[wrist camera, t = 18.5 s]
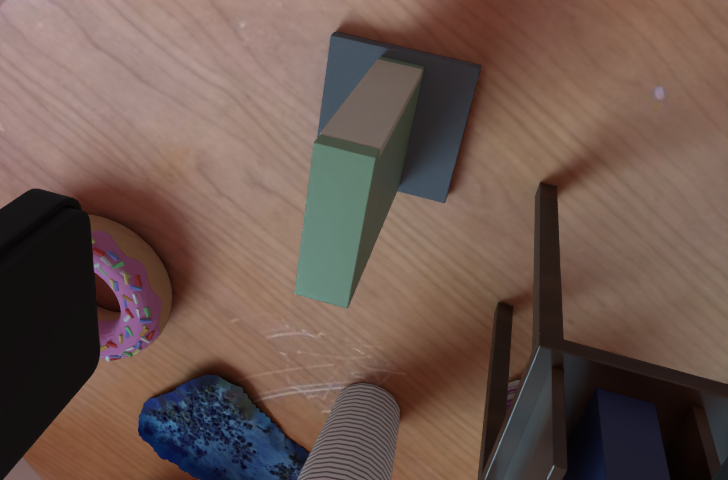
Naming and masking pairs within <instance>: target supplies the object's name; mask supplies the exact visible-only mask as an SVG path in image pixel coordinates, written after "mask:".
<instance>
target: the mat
mask: <svg viewBox="0 0 728 480" xmlns="http://www.w3.org/2000/svg"><path fill="white" fill-rule="evenodd" d="M380 56H381V57H386V58H390V59H394V60H399V61H403V62H407V63H412V64H416V65H420V66H424V67H425V68H424V72H423V77H422V82H421V86H420V91H419V96H418V100H417V105H416V110H415V114H414V119H413V124H412V128H411V133H410V138H409V142H408V147H407V152H406V156H405V161H404V165H403V170H402V175H401V179H400V184H399V188H398V190H397V191H399V192H403V193H407V194H411V195H415V196H419V197H423V198H427V199H430V200H434V201H438V202H442V203H445V202H446V198H447V194H448V190H449V187H450V183H451V179H452V175H453V172H454V168H455V164H456V160H457V156H458V153H459V149H460V145H461V141H462V137H463V134H464V130H465V126H466V122H467V119H468V115H469V111H470V107H471V103H472V100H473V96H474V92H475V88H476V84H477V81H478V77H479V73H480V69H481V65H477V64H473V63H469V62H464V61H460V60H456V59H451V58H447V57H443V56H438V55H434V54H430V53H425V52H421V51H417V50H413V49H408V48H404V47H400V46H395V45H391V44H387V43H382V42H378V41H374V40H369V39H365V38H361V37H356V36H352V35H348V34H343V33H339V32H334V33H333V34H332V35H331V39H330V47H329V54H328V62H327V69H326V77H325V84H324V92H323V99H322V107H321V114H320V122H319V129H318V137H319V135H320V132H321V131H322V130H323V128H324V127H325V126H326V124H327V123H328V122H329V121H330V119H331V118H332V117H333V115H334V114H335V113H336V112H337V110H338V109H339V108H340V106H341V105H342V104H343V103H344V101H345V100H346V99H347V97H348V96H349V95H350V94H351V92H352V91H353V90H354V88H355V87H356V86H357V85H358V83H359V82H360V81H361V79H362V78H363V77H364V76H365V74H366V73H367V72H368V70H369V69H370V68H371V67H372V65H373V64H374V63H375V61H376V60H377V59H379V58H380ZM318 137H317V138H318Z"/></svg>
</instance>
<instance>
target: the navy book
mask: <svg viewBox="0 0 728 480" xmlns="http://www.w3.org/2000/svg"><path fill="white" fill-rule="evenodd" d="M567 465H568V469H567V471H566V473H565V475H564V477H563V479H562V480H670V476H669V471H668V466H667V461H666V456H665V451H664V446H663V442H662V437H661V432H660V427H659V422H658V417H657V412H656V407H655V404H653V403H650V402H646V401H643V400H639V399H636V398H632V397H629V396H625V395H622V394H619V393H615V392H612V391H608V390H605V389H601V388H596V390H595V391H594V393H593V395H592V397H591V399H590V401H589V403H588V405H587V407H586V409H585V411H584V413H583V415H582V417H581V419H580V421H579V422H578V424H577V426H576V428H575V430H574V432H573V434H572V436H571V438H570V440H569V442H568V444H567Z"/></svg>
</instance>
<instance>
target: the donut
mask: <svg viewBox="0 0 728 480" xmlns="http://www.w3.org/2000/svg"><path fill="white" fill-rule="evenodd" d="M88 216H89V218H90V223H91V235H92V248H93V261H94V272H95V273H96V274H98V275H99V276H100V277H101V278H102V279H103V280H104V281H106V283H107V284H108V285H109V286H110V288H111V289H112V290H113V292H114V293H115V295H116V297H117V299H118V301H119V305H120V308H121V312H112V311H109V310H106V309H103V308H101V307H99V306H97V313H98V326H99V339H100V358H106V361H110V360H111V361H112V360H117V359H121V358H125V357H128V356H130V357H132V356H133V355H135V354H136V353H139V352H141V351H142V350H143V349H145V348H146V347H148V346H149V345H151V344H152V343H153V342H154V341H155V340H156V339H157V338H158V336H159V335H160V334H161V332H162V330H163V329H164V327H165V325H166V323H167V321H168V318H169V315H170V311H171V305H172V287H171V283H170V280H169V276H168V273H167V271H166V269H165V267H164V265H163V264H162V262H161V260H160V258H159V257H158V256H157V254H156V253H155V252H154V250H153V249H152V248H151V247H150V246H149V245H148V244H147V243H146V242H145V241H144V240H143V239H141V238H140V237H139V236H138V235H137V234H135V233H134V232H133V231H131V230H130V229H128V228H126V227H124V226H123V225H121V224H119V223H116V222H114V221H112V220H110V219H107V218H103V217H100V216H96V215H90V214H88Z"/></svg>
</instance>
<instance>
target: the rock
mask: <svg viewBox="0 0 728 480" xmlns="http://www.w3.org/2000/svg"><path fill="white" fill-rule="evenodd" d="M259 410H260V409H259V408H256V405H254V404H251V400H250V399H248V398H247V393H243V388H242V387H238V386H235V385H233V384H230V383H229V382H227V381H225V380H223V379H222V378H220V377H219V376H218V375H208V374H206V375H204V376H203V377H199V378H197V379H196V378H195V379H193V380H190V381H188V382H186V383H184V384H182V385H181V386H180V387H176V390H174V391H172V392H170V393H167V394H162V395H160V396H158V397H157V398H156V397H155V398H150V399H149V400H148V401H147V402H145V403H144V406H143V408H142V411H141V414H140V415H139V427H138V432H139V436H141V437H142V439H143V440H144V441H146V442H148V443H149V444H150V445H151V446H152V447H153V448H154V451H155V452H157V454H158V456H159V457H160V458H162V459H164V460H166V459H168V460H169V461H170V462H172V463H175V464H176V465H178V466H179V468H180V469H181V470H182V471H184V472H188V473H189V474H190V475H191V476H192V477H195V478H199V479H201V480H297V479H298V477H299V475H300V473H301V471H302V469H303V467H304V464H305V462H306V460H307V458H308V456H309V453H307V452H306V451H305V449H304V448H303V447H299V446H298V445H297V444H296V443H294V442H293V440H290V439H286V437H284V435H285V434H283V433H281V431H280V430H281V429H279V428H278V427H276V424H274V423H271V422H270V418H269V417H266V416H265V413H260V411H259Z"/></svg>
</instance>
